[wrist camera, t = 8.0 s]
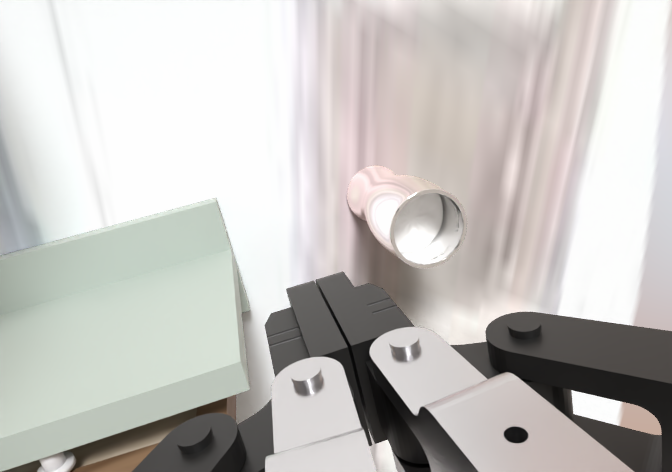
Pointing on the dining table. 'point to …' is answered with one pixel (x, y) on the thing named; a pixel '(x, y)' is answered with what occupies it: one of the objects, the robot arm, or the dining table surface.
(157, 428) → the frame
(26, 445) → the board
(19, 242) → the dining table surface
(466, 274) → the dining table surface
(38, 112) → the dining table surface
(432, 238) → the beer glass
